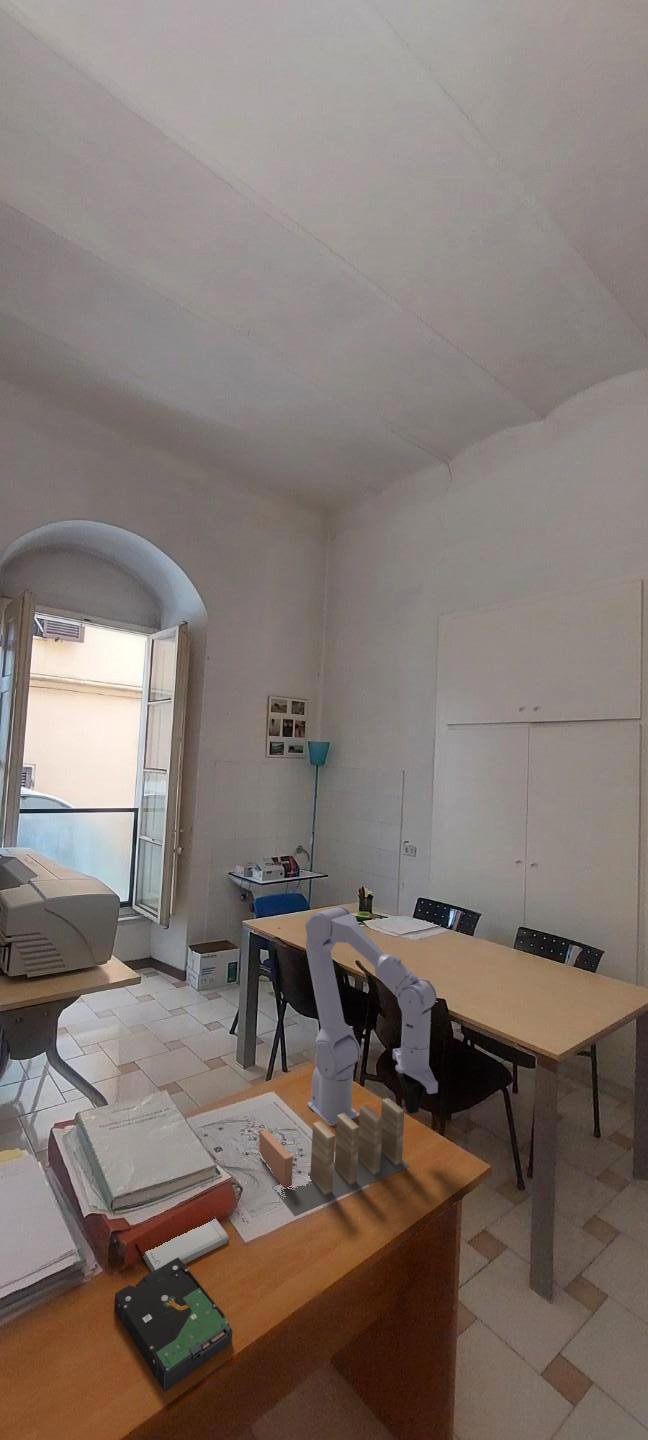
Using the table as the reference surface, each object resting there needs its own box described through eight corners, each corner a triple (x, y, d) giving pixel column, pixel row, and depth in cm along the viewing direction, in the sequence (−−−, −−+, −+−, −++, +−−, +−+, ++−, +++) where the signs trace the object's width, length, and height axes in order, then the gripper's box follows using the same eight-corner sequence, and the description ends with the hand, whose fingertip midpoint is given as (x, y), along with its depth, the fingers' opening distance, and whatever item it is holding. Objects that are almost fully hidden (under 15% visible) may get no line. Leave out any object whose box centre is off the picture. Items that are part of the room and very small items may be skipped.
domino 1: (285, 1159, 112) (259, 1131, 121) (284, 1188, 112) (258, 1159, 120) (292, 1156, 113) (267, 1129, 122) (291, 1185, 113) (266, 1156, 121)
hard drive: (155, 1271, 92) (228, 1234, 100) (135, 1235, 99) (205, 1203, 106) (154, 1283, 92) (228, 1245, 100) (134, 1246, 99) (204, 1213, 106)
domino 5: (395, 1165, 120) (398, 1112, 120) (379, 1151, 124) (381, 1099, 124) (401, 1163, 121) (404, 1110, 121) (385, 1148, 125) (388, 1097, 125)
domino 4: (373, 1175, 117) (375, 1120, 117) (357, 1159, 121) (360, 1107, 121) (379, 1172, 118) (382, 1118, 118) (364, 1157, 122) (366, 1105, 122)
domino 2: (324, 1195, 111) (327, 1138, 111) (310, 1178, 115) (313, 1123, 115) (332, 1192, 112) (335, 1135, 112) (317, 1175, 116) (320, 1120, 116)
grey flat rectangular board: (272, 1189, 112) (272, 1186, 112) (383, 1145, 126) (383, 1143, 126) (294, 1218, 106) (294, 1215, 106) (409, 1168, 120) (409, 1166, 120)
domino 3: (349, 1185, 114) (352, 1129, 114) (334, 1168, 118) (337, 1115, 118) (356, 1182, 115) (359, 1126, 115) (341, 1166, 119) (343, 1112, 119)
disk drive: (111, 1314, 87) (164, 1397, 76) (112, 1293, 87) (166, 1373, 76) (176, 1274, 94) (233, 1344, 83) (178, 1255, 94) (234, 1322, 83)
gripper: (381, 1029, 131) (378, 1095, 131) (416, 1063, 118) (413, 1136, 117) (410, 1025, 134) (407, 1090, 133) (448, 1057, 121) (445, 1129, 120)
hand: (412, 1111), depth 126 cm, fingers closed
